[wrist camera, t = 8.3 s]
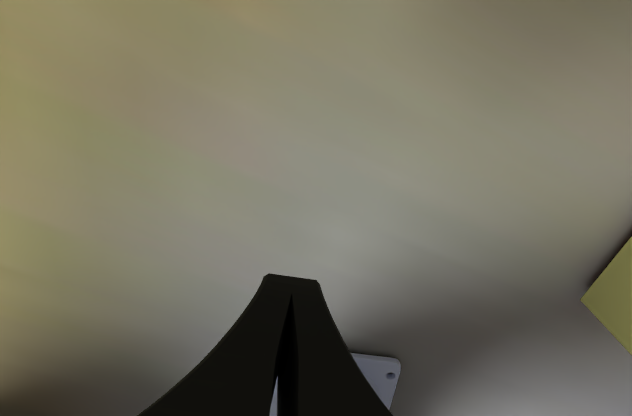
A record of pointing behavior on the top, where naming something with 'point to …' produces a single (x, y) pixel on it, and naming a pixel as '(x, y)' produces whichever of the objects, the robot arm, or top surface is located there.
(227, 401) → the robot arm
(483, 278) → the top surface
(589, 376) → the top surface
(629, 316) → the baking soda box
